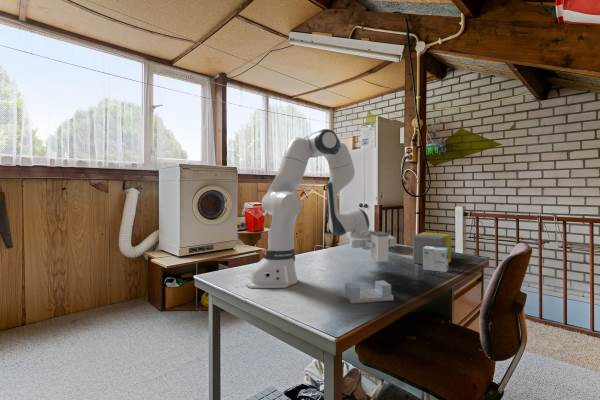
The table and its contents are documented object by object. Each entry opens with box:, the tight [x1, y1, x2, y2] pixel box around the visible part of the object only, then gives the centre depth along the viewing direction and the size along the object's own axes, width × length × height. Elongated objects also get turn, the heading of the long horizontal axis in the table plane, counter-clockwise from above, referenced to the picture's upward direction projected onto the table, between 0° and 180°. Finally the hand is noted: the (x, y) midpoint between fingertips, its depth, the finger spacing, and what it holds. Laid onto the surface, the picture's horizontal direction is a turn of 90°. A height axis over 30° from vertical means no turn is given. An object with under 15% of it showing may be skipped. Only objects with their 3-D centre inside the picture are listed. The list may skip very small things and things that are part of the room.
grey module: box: [369, 230, 390, 263], centre depth 127 cm, size 5×7×11 cm, turn 11°
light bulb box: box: [422, 246, 449, 273], centre depth 151 cm, size 11×7×11 cm, turn 58°
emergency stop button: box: [412, 231, 452, 266], centre depth 167 cm, size 15×24×15 cm, turn 139°
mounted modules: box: [344, 280, 392, 298], centre depth 113 cm, size 16×6×4 cm, turn 101°
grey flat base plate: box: [342, 288, 394, 305], centre depth 113 cm, size 16×8×2 cm, turn 101°
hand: (380, 245), depth 126 cm, fingers closed on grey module, 4 cm apart
